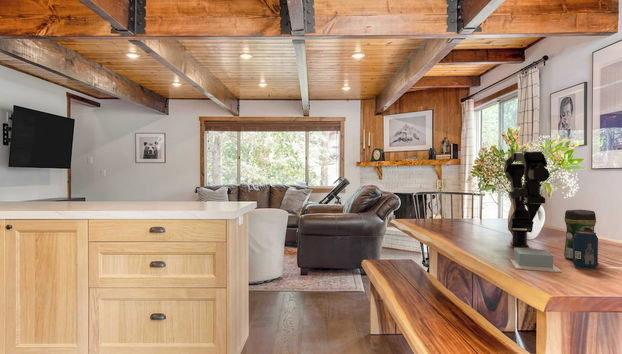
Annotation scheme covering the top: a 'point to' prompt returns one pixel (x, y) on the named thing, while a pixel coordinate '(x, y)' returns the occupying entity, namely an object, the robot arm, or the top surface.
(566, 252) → the coffee jar
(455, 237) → the top surface
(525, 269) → the beige square plate
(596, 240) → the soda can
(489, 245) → the top surface
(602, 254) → the top surface
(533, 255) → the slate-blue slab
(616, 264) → the top surface
